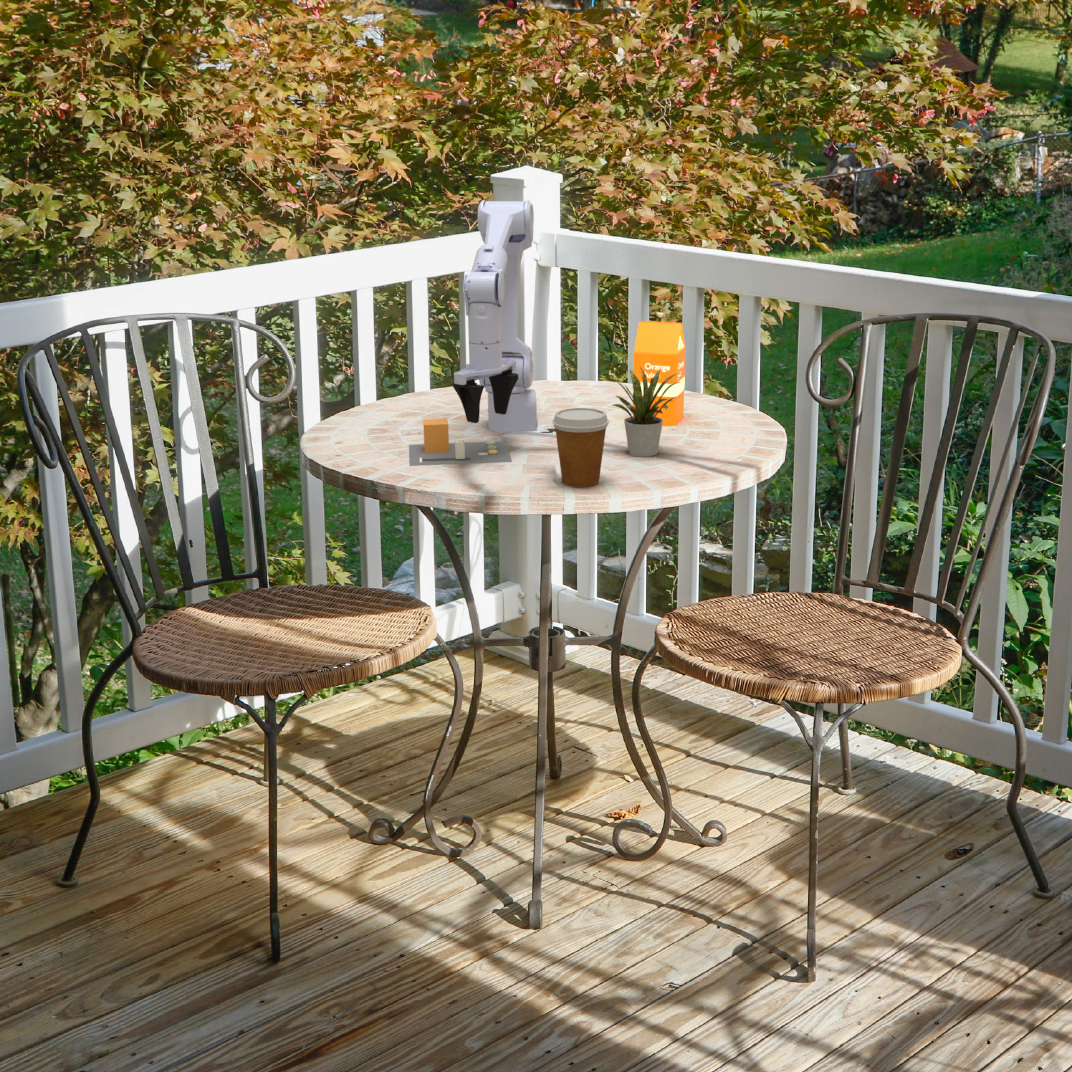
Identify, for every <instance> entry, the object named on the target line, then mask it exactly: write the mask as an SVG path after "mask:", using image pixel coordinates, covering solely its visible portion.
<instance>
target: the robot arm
mask: <svg viewBox="0 0 1072 1072" xmlns="http://www.w3.org/2000/svg"><path fill="white" fill-rule="evenodd" d="M534 213H535V212H534V205H533V203H532V202H531V201H530V200H527V199H526V200H523V201H521V200H518V201H517V200H515V201H514V200H513V201H512V200H510V201H508V200H505V201H504V200H499V201H498V200H495V201H494V200H485V199H483V200H481V201H480V203H479V204H478V207H477V226H478V227H477V228H478V231H479V233H480V236H481V240H482V242H483V245H481V246H479V248H478V249H477V250H476V253H475V257H474V260H473V264H472V268H471V271H470V272H469V273H468V274H465V275H464V277H463V284H462V287H463V288H462V292H463V300H464V306H465V314H466V315H465V316H467V326H468V328H467V329H468V331H467V332H468V359H469V360H468V362H469V363H467V364H465V368H463V369H461V370H458V371H456V372H454V373H453V382H452V388H453V390H454V391H455V392H456V394H457V396H458V398H459V400H460V402H461V406H462V407H463V410H464V413H465V418H466V420H467V422H468V423H471V424H478V423H479V421H480V413H481V412H480V411H481V409H480V407H481V399H482V395H483V391H485V393H487V413H488V414H487V417H488V419H487V420H488V422H487V423H488V430H489V431H492V432H495V433H503V434H505V433H519V432H537V431H538V423H539V421H538V415H537V413H538V412H537V409H538V407H537V393H536V390H535V389H531V388H530V387H531V386H532V384H533V381H534V380H533V379H534V378H533V377H534V361H533V351H532V349H531V348H530V346H529V345H528V344H527V343H525V342H524V341H523V340H521V339H520V338H519V326H520V299H521V298H520V296H521V295H520V294H521V290H520V289H521V263H522V259H523V255H524V251H526V250H528V249H529V248H532V245H533V244H532V243H533V242H534V241H533V240H534V220H535V218H534ZM476 381H479V384H478V383H477V382H476ZM484 388H485V390H484ZM529 388H530V389H529Z"/></svg>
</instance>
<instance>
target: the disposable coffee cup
mask: <svg viewBox="0 0 1072 1072" xmlns="http://www.w3.org/2000/svg"><path fill="white" fill-rule="evenodd" d="M609 423H610V420H609V419H608V415H607V413H606V412H605V411H604V410H602V409H600V408H599V409H598V408H591V407H571V408H570V407H569V408H564V409H560V410H557V411H556V412H555V413H554V417H553V419H552V424H553V427H554V428H555V437H556V445H557V452H558V459H559V466H560V475H561V481H562V482H561V483H562V484H564V486H568V487H573V488H587V487H588V488H589V487H593V485H594V486H596V485H598V484H599V483H600V477H601V470H602V469H601V468H602V462H603V453H604V446H605V438H606V430H607V428H608V424H609Z"/></svg>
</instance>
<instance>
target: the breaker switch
mask: <svg viewBox="0 0 1072 1072" xmlns="http://www.w3.org/2000/svg"><path fill="white" fill-rule="evenodd" d="M454 443H455V456H456V459H465V445H464V443H465V440H464V439H463V440H461V439H460V440H454Z"/></svg>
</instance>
